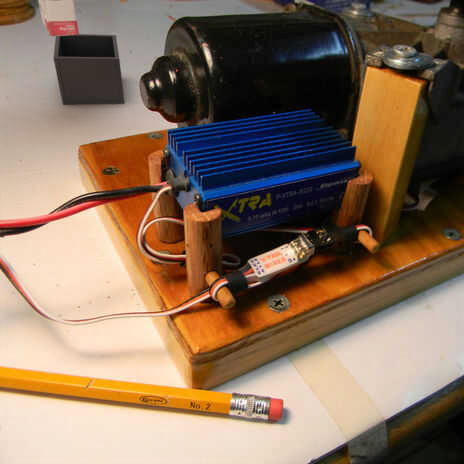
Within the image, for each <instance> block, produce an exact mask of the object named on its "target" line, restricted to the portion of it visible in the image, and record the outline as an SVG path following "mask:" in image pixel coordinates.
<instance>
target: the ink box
mask: <svg viewBox="0 0 464 464" xmlns="http://www.w3.org/2000/svg"><path fill="white" fill-rule="evenodd" d="M37 2H38V6H39V7H38V8H39V12H40V17H41V22H42V24H43V25H44V27H45V29H46V30H47V32H48V34H49V36H50V37H56V36H66V35H79V34H80V32H79V26H78V20H77V14H76V8H75V7H76V6H75V1H74V0H37Z"/></svg>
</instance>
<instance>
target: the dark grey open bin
mask: <svg viewBox="0 0 464 464" xmlns="http://www.w3.org/2000/svg"><path fill="white" fill-rule="evenodd" d="M53 64H54V68H55V73H56V79H57V82H58V88H59V93H60V97H61V103H62V105H99V104H100V105H109V104H110V105H115V104H120V105H121V104H125V96H124V87H123V86H124V85H123V78H122V69H121V61H120V52H119V46H118V39H117V35H116V34H95V33H94V34H92V33H89V34H88V33H79V35H66V36H55V41H54V48H53Z"/></svg>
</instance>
